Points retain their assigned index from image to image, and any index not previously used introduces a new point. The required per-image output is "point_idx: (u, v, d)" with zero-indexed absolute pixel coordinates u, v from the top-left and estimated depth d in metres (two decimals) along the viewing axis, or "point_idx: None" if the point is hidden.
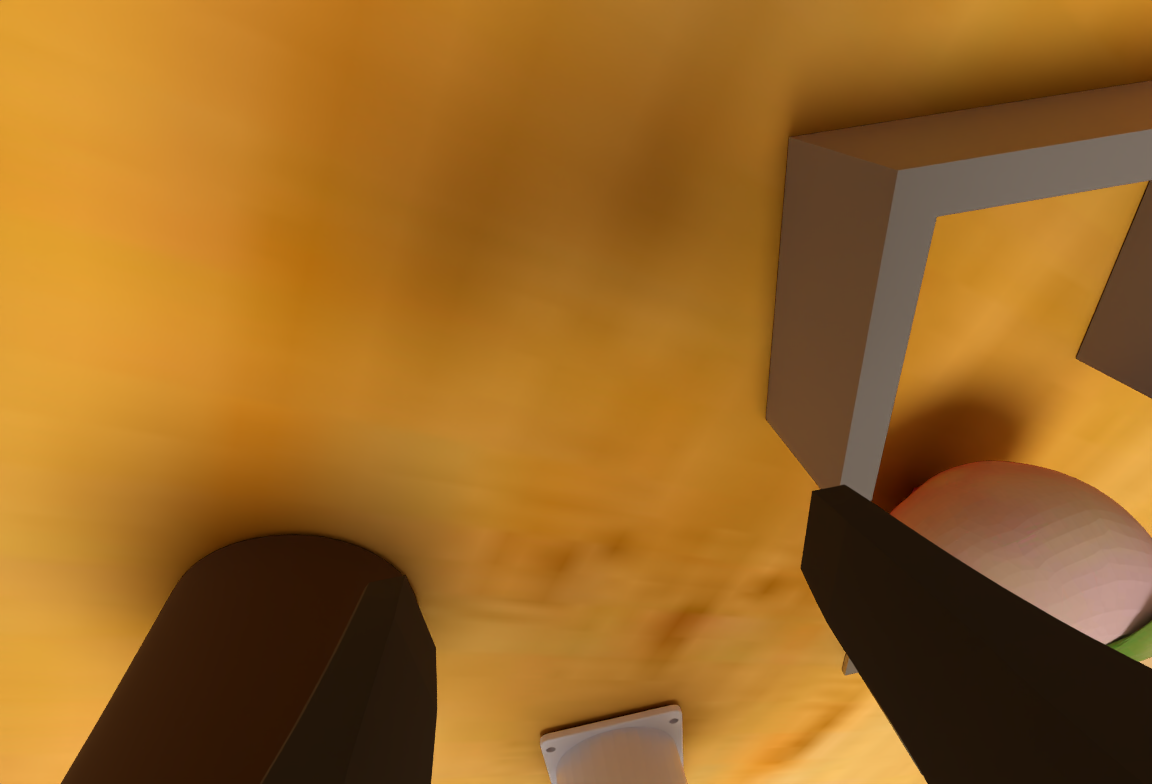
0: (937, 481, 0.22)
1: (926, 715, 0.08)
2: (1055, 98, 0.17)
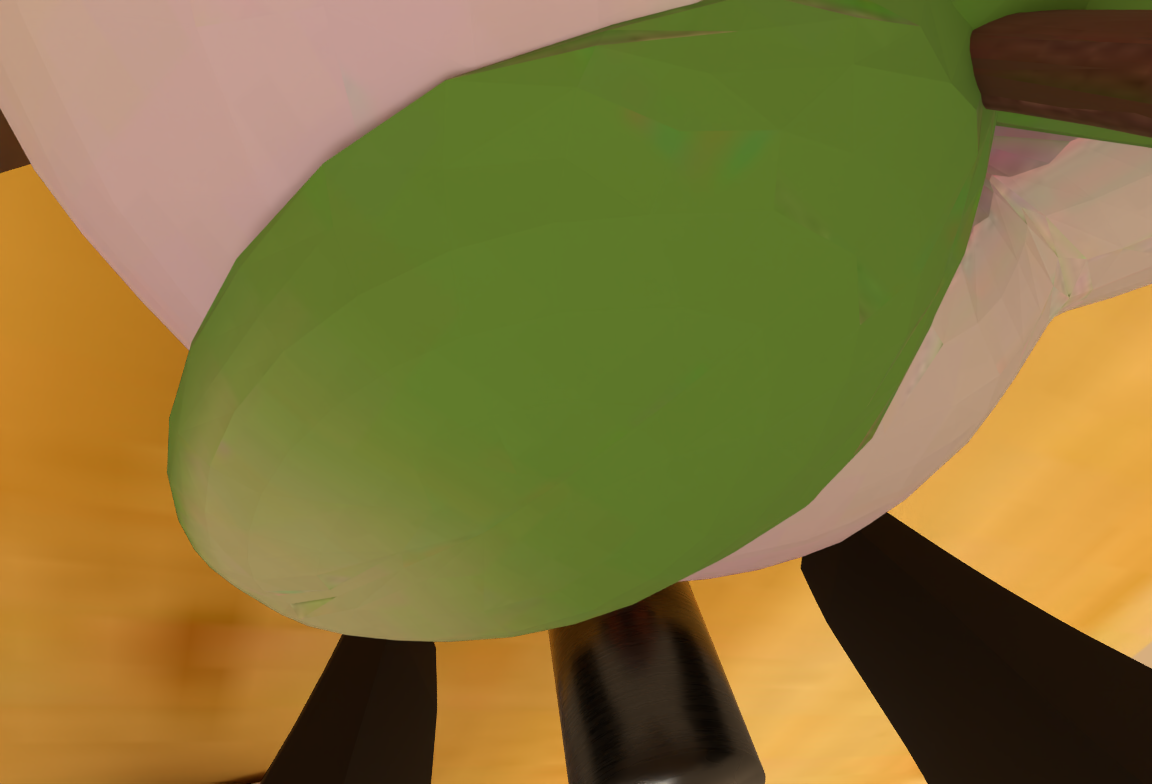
0: None
1: (926, 715, 0.08)
2: None
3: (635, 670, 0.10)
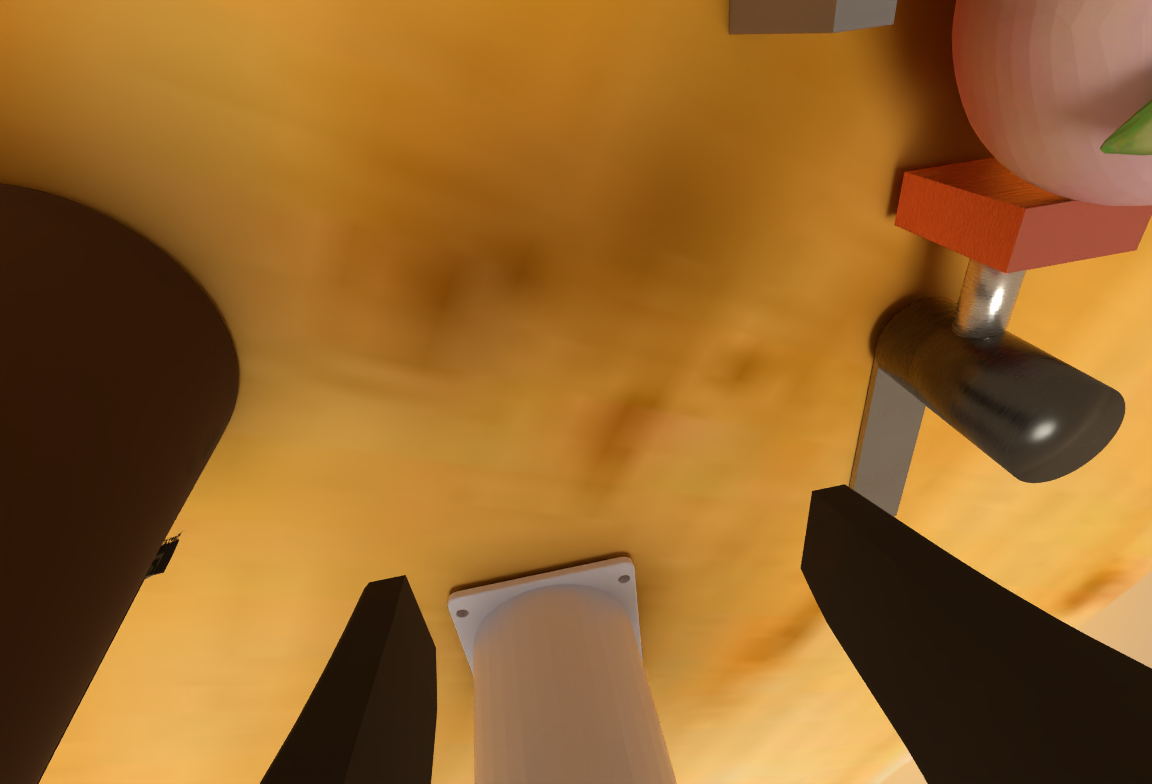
0: None
1: (926, 715, 0.08)
2: None
3: (1037, 362, 0.16)
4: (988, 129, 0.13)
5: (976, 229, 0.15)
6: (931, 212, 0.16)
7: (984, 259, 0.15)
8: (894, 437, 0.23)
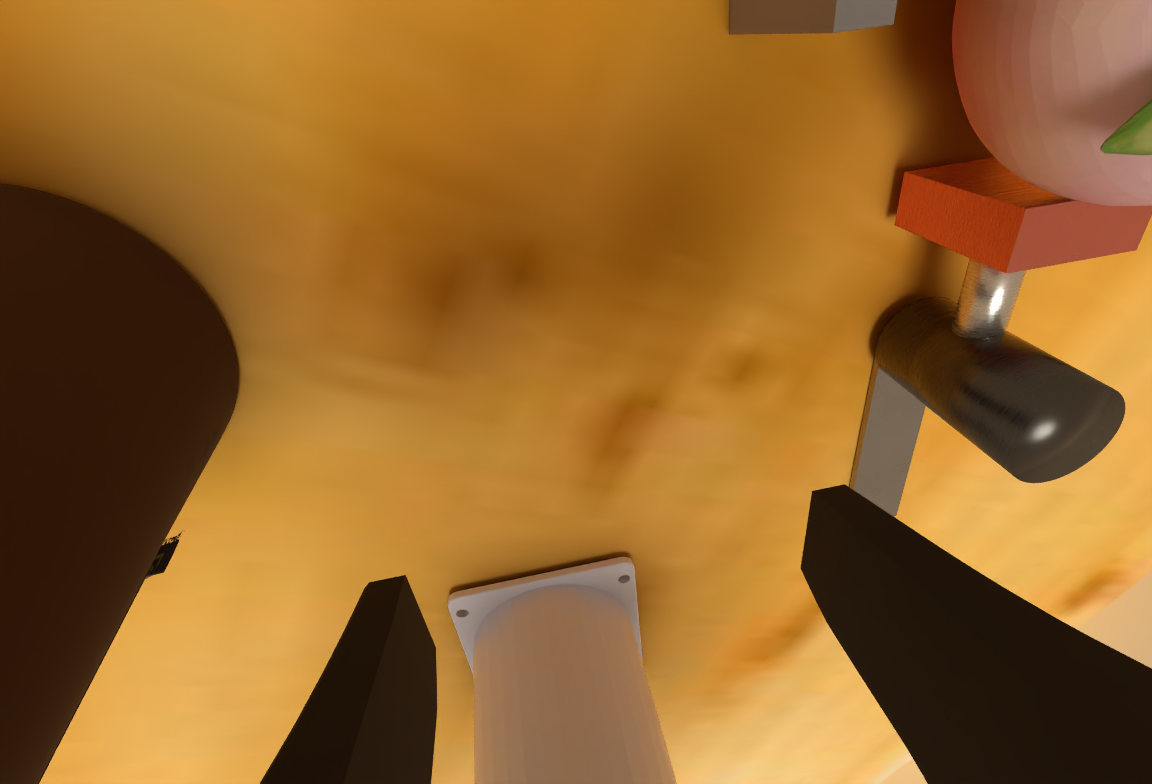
0: None
1: (926, 715, 0.08)
2: None
3: (1037, 362, 0.16)
4: (988, 129, 0.13)
5: (976, 229, 0.15)
6: (931, 212, 0.16)
7: (984, 259, 0.15)
8: (894, 437, 0.23)
